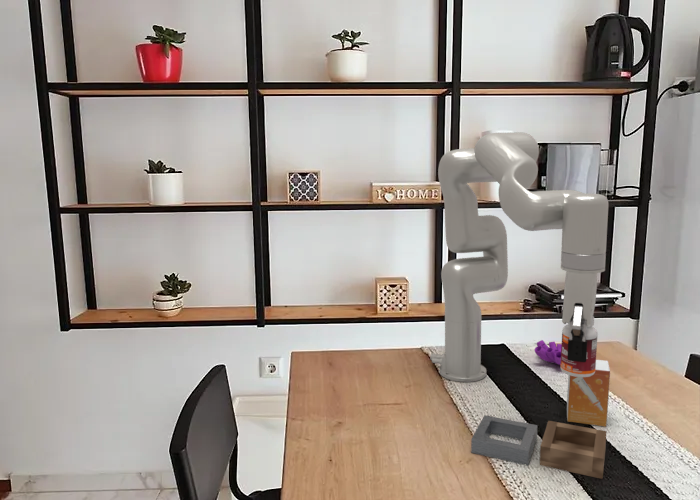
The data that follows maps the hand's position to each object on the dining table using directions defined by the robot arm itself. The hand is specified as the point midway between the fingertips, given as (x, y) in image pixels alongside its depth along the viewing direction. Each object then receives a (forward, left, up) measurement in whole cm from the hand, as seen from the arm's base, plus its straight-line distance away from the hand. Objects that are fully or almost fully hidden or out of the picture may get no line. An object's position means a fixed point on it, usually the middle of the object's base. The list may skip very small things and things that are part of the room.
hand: (578, 353), depth 105 cm
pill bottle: (0, 0, -4) cm, 4 cm away
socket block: (-13, -1, -21) cm, 25 cm away
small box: (+1, +18, -22) cm, 28 cm away
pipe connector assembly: (-8, +49, -22) cm, 54 cm away
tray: (0, 0, -21) cm, 21 cm away
